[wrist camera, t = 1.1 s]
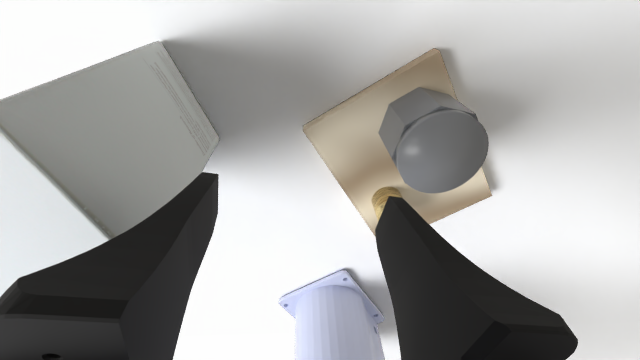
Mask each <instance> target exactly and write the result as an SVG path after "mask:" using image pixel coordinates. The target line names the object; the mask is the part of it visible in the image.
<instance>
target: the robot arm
mask: <svg viewBox="0 0 640 360" xmlns="http://www.w3.org/2000/svg"><path fill="white" fill-rule="evenodd" d="M217 214H218V174H213V173H205V172H202V173H201V174H199V175H198V176H197V177H196V178H195V179H194V180H193V181H192V182H191V183H190V184H189V185H188V186H186V187H185V188H184V189H183V190H182V191H181V192H180V193H178V194H177V195H176V196H175V197H174V198H173V199H171V200H170V201H169V202H168V203H166V204H165V205H164V206H163V207H161V208H160V209H159V210H157V211H156V212H155V213H153V214H152V215H150V216H149V217H148V218H146V219H145V220H143V221H142V222H140V223H139V224H137V225H135V226H134V227H132V228H131V229H129V230H127V231H126V232H124V233H122V234H120V235H118V236H116V237H114V238H112V239H111V240H109V241H107V242H105V243H103V244H101V245H99V246H97V247H95V248H93V249H91V250H88V251H86V252H84V253H82V254H79V255H77V256H75V257H72V258H70V259H68V260H65V261H63V262H60V263H58V264H55V265H52V266H50V267H47V268H44V269H42V270H39V271H36V272H34V273H31V274H28V275H25V276H22V277H19V278H18V279H17V280H16V281H15V282H14V283H13V284H12V285H11V286H10V287H9V288H8V289H7V290H6V291H5V292H4V293H3V294H2V296H1V297H0V360H173V356H174V352H175V348H176V344H177V340H178V336H179V332H180V328H181V325H182V321H183V317H184V313H185V310H186V306H187V302H188V299H189V295H190V292H191V289H192V286H193V283H194V280H195V278H196V275H197V273H198V270H199V268H200V265H201V262H202V260H203V257H204V255H205V252H206V250H207V247H208V245H209V242H210V239H211V237H212V234H213V230H214V226H215V222H216V218H217ZM375 234H376V242H377V249H378V253H379V257H380V261H381V264H382V268H383V271H384V275H385V278H386V282H387V285H388V288H389V292H390V295H391V299H392V303H393V308H394V314H395V319H396V325H397V331H398V338H399V345H400V352H401V360H566V359H567V358H568V357H569V356H570V355H572V354H573V353H574V351H575V350H576V348H577V345H578V339H577V338H576V337H575V335H574V334H573V332H572V331H571V330H570V328H569V327H568V325H567V324H566V323H565V321H564V320H563V318H562V317H561V316H560V315H559V314H557V313H555V312H553V311H551V310H549V309H547V308H545V307H543V306H542V305H540V304H538V303H536V302H534V301H532V300H530V299H528V298H526V297H525V296H523V295H521V294H519V293H518V292H516V291H514V290H513V289H511V288H509V287H508V286H506V285H504V284H503V283H501V282H500V281H498V280H496V279H495V278H493V277H492V276H491V275H489V274H488V273H486V272H485V271H483V270H482V269H480V268H479V267H478V266H476V265H475V264H474V263H472V262H471V261H470V260H468V259H467V258H466V257H465V256H463V255H462V254H461V253H460V252H458V251H457V250H456V249H455V248H454V247H452V246H451V245H450V244H449V243H448V242H447V241H446V240H445V239H444V238H442V237H441V236H440V235H439V234H438V233H437V232H436V231H435V230H434V229H433V228H432V227H431V226H430V225H429V224H428V223H427V222H426V221H425V220H424V219H423V218H422V217H421V216H420V215H419V214H418V213H417V212H416V211H415V210H414V209H413V208H412V207H411V206H410V205H409V204H408V203H407V202H406V201H405V200H404V199H403V198H401V197H393V196H389V197H388V199H387V202H386V204H385V207H384V209H383V211H382V214H381V216H380V219H379V221H378V224H377V226H376V229H375ZM279 304H280V305H281V306H282V307H283V308H284V309H285V310H286V311H287V312H289V313H290V314H291V315H292V316H293V317H294V318H295V319H296V323H295V360H385V357H384V353H383V349H382V344H381V340H380V335H379V331H378V326H377V324H378V323H380V322H383V321H384V316H383V315H382V313H381V312H380V311H379V310H378V309H377V307H376V306H375V305H374V304H373V302H372V301H371V300H370V299H369V298H368V296H367V295H366V294H365V293H364V292H363V290H362V289H361V288H360V287H359V286H358V284H357V283H356V282H355V281H354V279H353V278H352V277H351V276H350V275H349V273H348V272H347V271H345V270H341V271H339V272H337V273H334V274H332V275H330V276H328V277H325V278H323V279H321V280H319V281H316V282H314V283H312V284H310V285H308V286H305V287H303V288H301V289H299V290H296V291H294V292H292V293H290V294H288V295H285V296H283V297H281V298H280V299H279Z"/></svg>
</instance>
